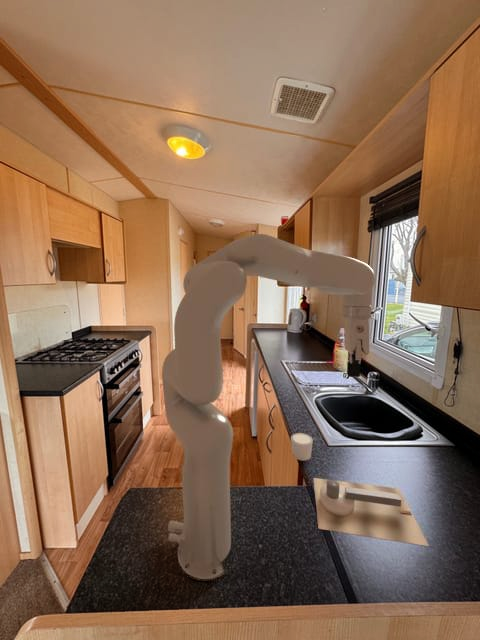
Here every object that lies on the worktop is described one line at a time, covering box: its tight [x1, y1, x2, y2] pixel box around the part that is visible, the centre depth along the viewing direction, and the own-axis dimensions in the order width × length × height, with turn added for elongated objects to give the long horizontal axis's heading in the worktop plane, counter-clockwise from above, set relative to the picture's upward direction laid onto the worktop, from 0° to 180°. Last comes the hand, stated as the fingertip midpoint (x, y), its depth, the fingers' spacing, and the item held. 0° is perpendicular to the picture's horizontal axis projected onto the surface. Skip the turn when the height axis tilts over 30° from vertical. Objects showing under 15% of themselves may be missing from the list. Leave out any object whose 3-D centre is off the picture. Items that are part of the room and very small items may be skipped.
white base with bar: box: [320, 479, 401, 516], centre depth 65 cm, size 18×8×5 cm, turn 78°
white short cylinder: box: [290, 432, 314, 461], centre depth 85 cm, size 7×7×7 cm
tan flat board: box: [313, 477, 430, 547], centre depth 65 cm, size 22×16×2 cm
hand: (353, 375), depth 77 cm, fingers closed
